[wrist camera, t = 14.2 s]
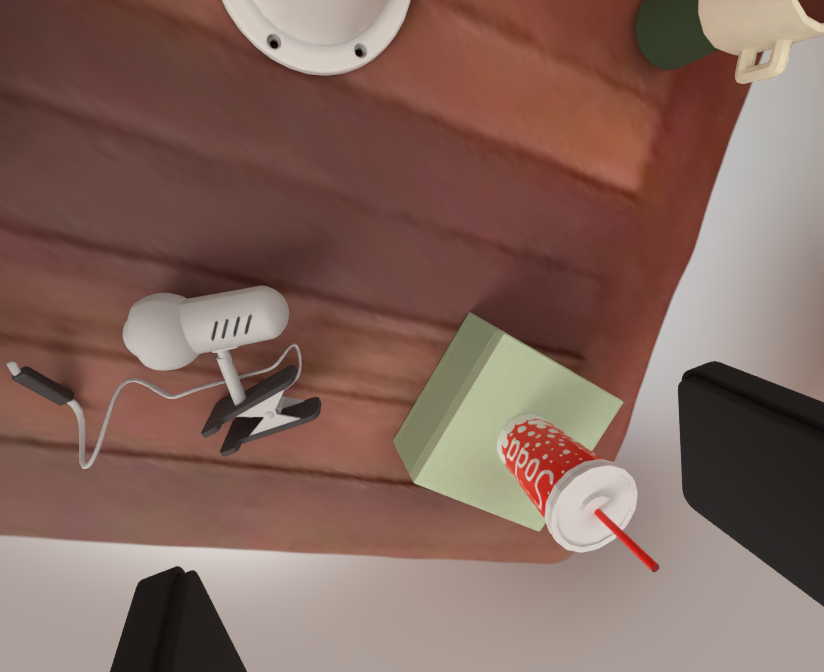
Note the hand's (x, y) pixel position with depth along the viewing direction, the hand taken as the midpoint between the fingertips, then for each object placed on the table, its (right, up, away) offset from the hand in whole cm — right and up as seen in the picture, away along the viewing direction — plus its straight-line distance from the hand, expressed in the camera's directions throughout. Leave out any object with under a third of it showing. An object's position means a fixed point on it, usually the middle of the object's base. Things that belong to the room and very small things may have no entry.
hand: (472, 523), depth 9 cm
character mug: (+19, +28, +30) cm, 45 cm away
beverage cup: (+8, -5, +30) cm, 31 cm away
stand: (+6, -3, +36) cm, 36 cm away
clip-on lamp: (-18, +1, +27) cm, 33 cm away
